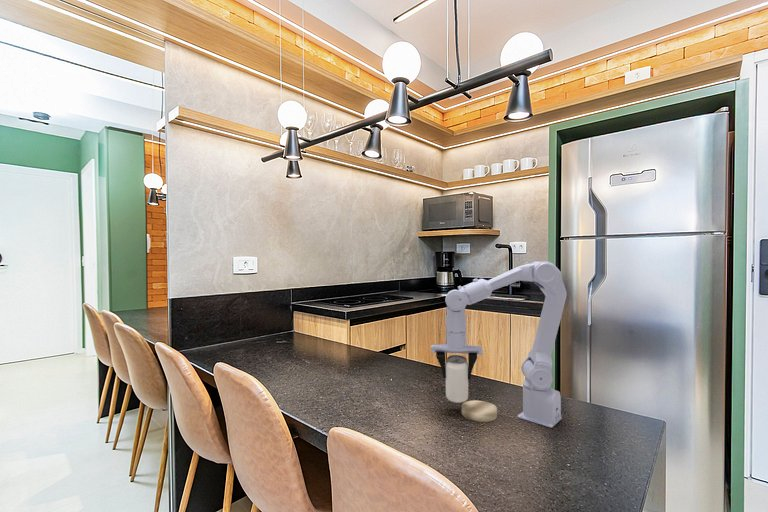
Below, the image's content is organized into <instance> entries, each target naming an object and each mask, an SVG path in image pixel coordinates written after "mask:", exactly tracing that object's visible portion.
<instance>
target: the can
mask: <svg viewBox="0 0 768 512" xmlns="http://www.w3.org/2000/svg"><path fill="white" fill-rule="evenodd" d="M467 360H468V358H466V356H463V355H461V354H460V355H459V354H452V355H449V356H447V357H446V360H445V365H446V378H445V397H446V399H447V400H448V401H449V402H451V403H455V404H460V403H462V404H463V403H464V402H467V400H468V399H469V380H468V361H467Z"/></svg>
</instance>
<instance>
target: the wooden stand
mask: <svg viewBox="0 0 768 512" xmlns="http://www.w3.org/2000/svg"><path fill="white" fill-rule="evenodd" d="M461 415H462V416H463V417H464V418H465V419H467V420H469V421H473V422H477V423H480V422H481V423H488V422H489V423H490V422H493V421H495V420H496V419H497V418H498V407H497V406H496V405H495V404H493V403H491V402H488V401H484V400H478V399H477V400H476V399H474V400H468V401H467V400H466V401H465V402H462V404H461Z"/></svg>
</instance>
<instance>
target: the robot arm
mask: <svg viewBox="0 0 768 512" xmlns="http://www.w3.org/2000/svg"><path fill="white" fill-rule="evenodd" d="M519 281H522V282H530V283H531V282H532V283H534V284H535V285H536V286H538V287H539V289H540V291H541V292H542V294H544V296H545V297H544V301H543V305H542V309H541V313H540V317H539V320H538V324H537V329H536V332H535V337H534V341H533V344H532V348H531V350H529V352H528V354H527V357H526V358H525V360H524V361H523V362H522V364H521V373H522V374H523V376H524V377H525V378H524V380H523V382H522V410H523V411H521V413H519V414H517V418H518V419H522V420H525V421H527V422H531V423H535V424H537V425H542V426H544V427H547V428H551V429H552V428H554V426H556V425H557V424H558V423H559V422H560V421H561V420H562V419H563V417H562V401H561V400H562V398H561V392H560V391H559V390H556V389H554V388H552V386H551V385H552V384H553V381H554V379H553V373H552V370H553V359H552V354H553V350H554V347H555V342H556V339H557V335H558V331H559V327H560V325H561V324H560V323H561V320H562V316H563V312H564V308H565V303H566V301H567V295H568V294H567V289H566V287H565V284H564V280H563V275H562V271H560V269H559V268H558V267H557V265H555V264H554V263H552V262H550V261H541V260H535V261H532V262H531V263H526V264H522V265H519V266H516V267H514V268H512V269H510V270H507V271H505V272H503V273H501V274H499V275H497V276H494V277H493V278H491V279H488V280H487V279H484V278H479V279H478V278H474V279H472V282H470V283H467V284H465V285H463V286H461V285H459V286H457V289H451V290H449V291H448V292H447V294H446V295H445V299H444V300H445V301H444V302H445V304H446V310H445V312H446V316H445V329H446V330H445V337H446V338H445V339H446V340H445V341H446V342H445V343H446V344H445V343H444V344H431V345H430V348H431V349H430V352H431V354H434V353H436V354H435V357H436V360H437V361H438V363H439V365H440V368H441V372H442V378H443V379H446V354H467V360H468V361H467V363H468V381H470V380H471V377H472V372H473V369H474V366H475V364H476V361H478V355H481V356H482V355H483V346H480V345H478V346H477V345H468V344H467V317H466V307H467V305H468V306H471V305H474V304H476V303H478V302H480V301H483V300H485V299H487V298H490V297H491V296H492V292H493V291H495V290H498V289H500V288H503V287H507V286H509V285H512V284H514V283H516V282H519Z"/></svg>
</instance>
